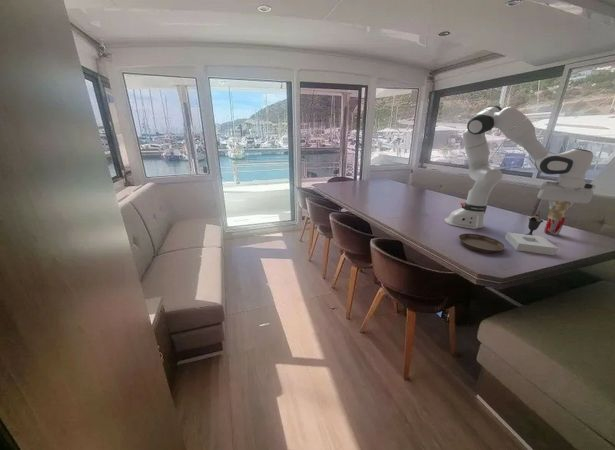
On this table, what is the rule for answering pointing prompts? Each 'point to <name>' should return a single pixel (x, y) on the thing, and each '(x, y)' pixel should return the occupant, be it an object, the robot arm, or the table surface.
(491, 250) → the plant saucer
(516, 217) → the table surface
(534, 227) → the sundae
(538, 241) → the socket block
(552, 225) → the soda can
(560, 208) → the birch peg
